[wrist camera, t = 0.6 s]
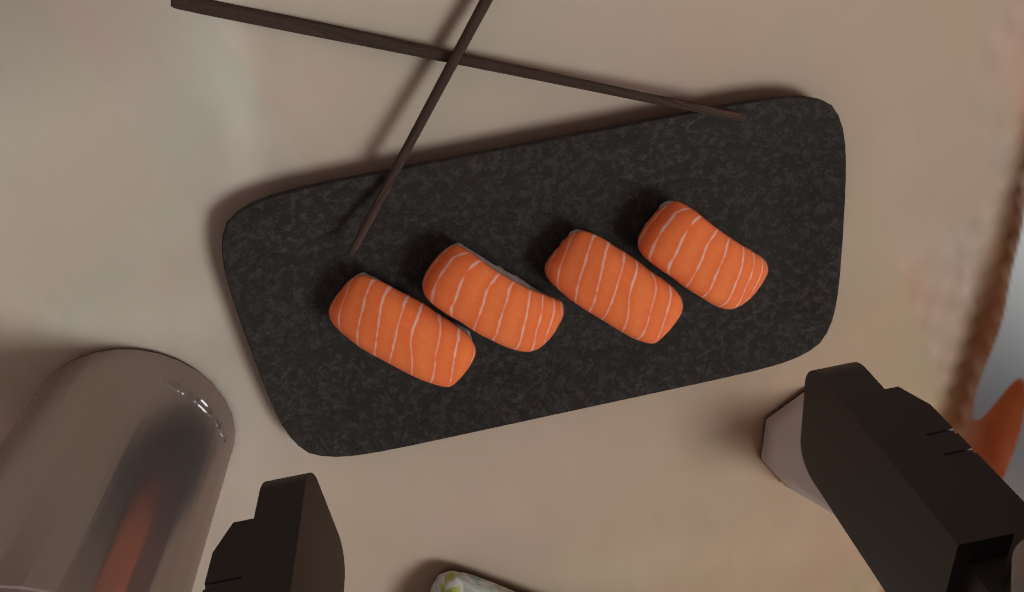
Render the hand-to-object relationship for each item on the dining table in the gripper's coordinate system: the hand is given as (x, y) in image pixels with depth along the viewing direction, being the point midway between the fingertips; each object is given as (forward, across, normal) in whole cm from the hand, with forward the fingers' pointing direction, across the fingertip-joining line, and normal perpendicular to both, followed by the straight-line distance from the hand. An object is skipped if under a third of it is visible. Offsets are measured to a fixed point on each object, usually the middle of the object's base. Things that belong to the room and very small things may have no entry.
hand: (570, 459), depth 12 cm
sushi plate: (+24, +2, -2) cm, 24 cm away
